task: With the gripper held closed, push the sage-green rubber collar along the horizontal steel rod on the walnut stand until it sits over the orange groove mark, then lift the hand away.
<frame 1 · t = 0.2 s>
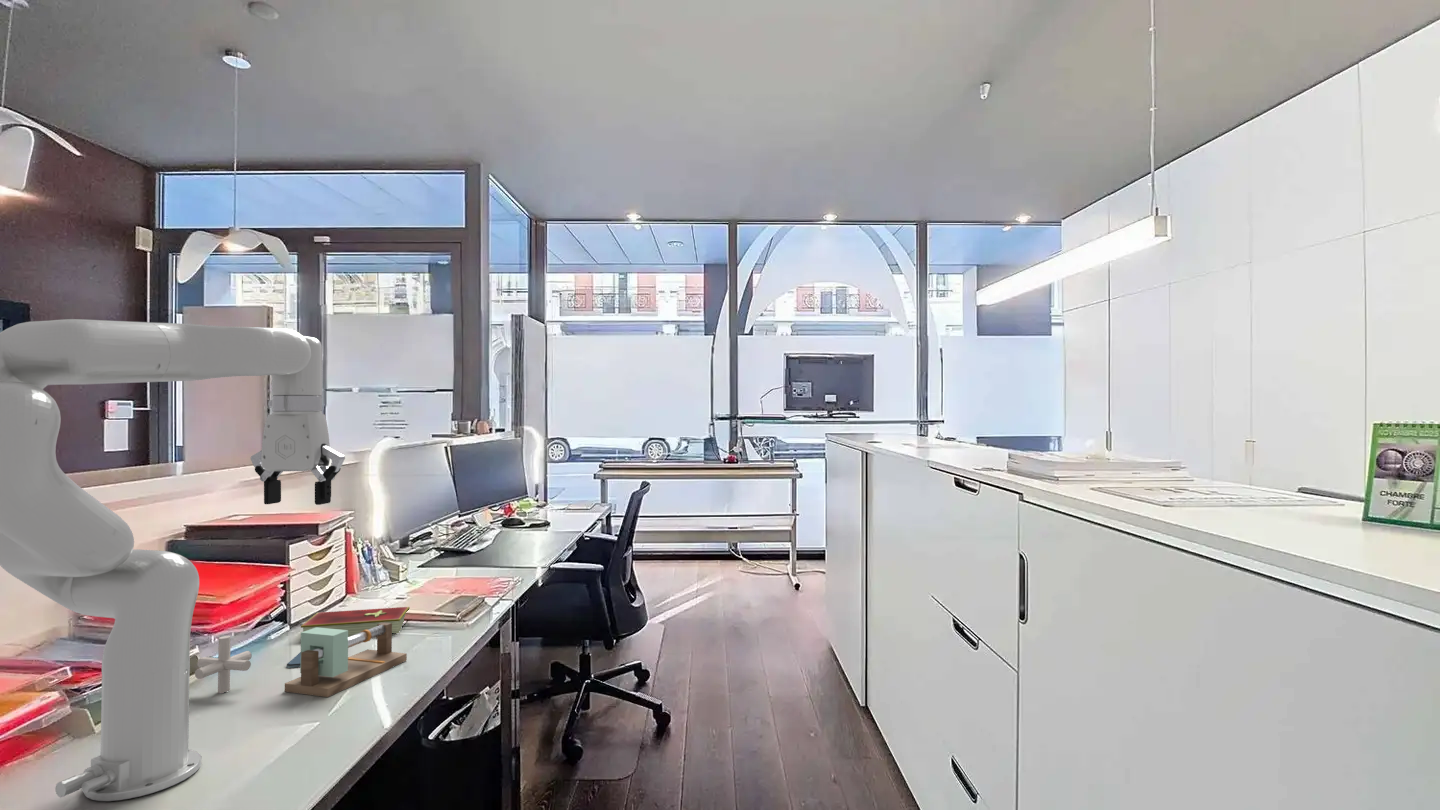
hand: (297, 503, 121), 36 cm above the table, tool pointing down, fingers open, 9 cm apart
hardcover book: (357, 632, 166), on the table
pipe connector: (223, 692, 128), on the table
smartphone: (318, 658, 148), on the table
rod stand: (349, 675, 136), on the table
collar: (324, 651, 130), point 6 cm above the table, slide at 0.0 cm
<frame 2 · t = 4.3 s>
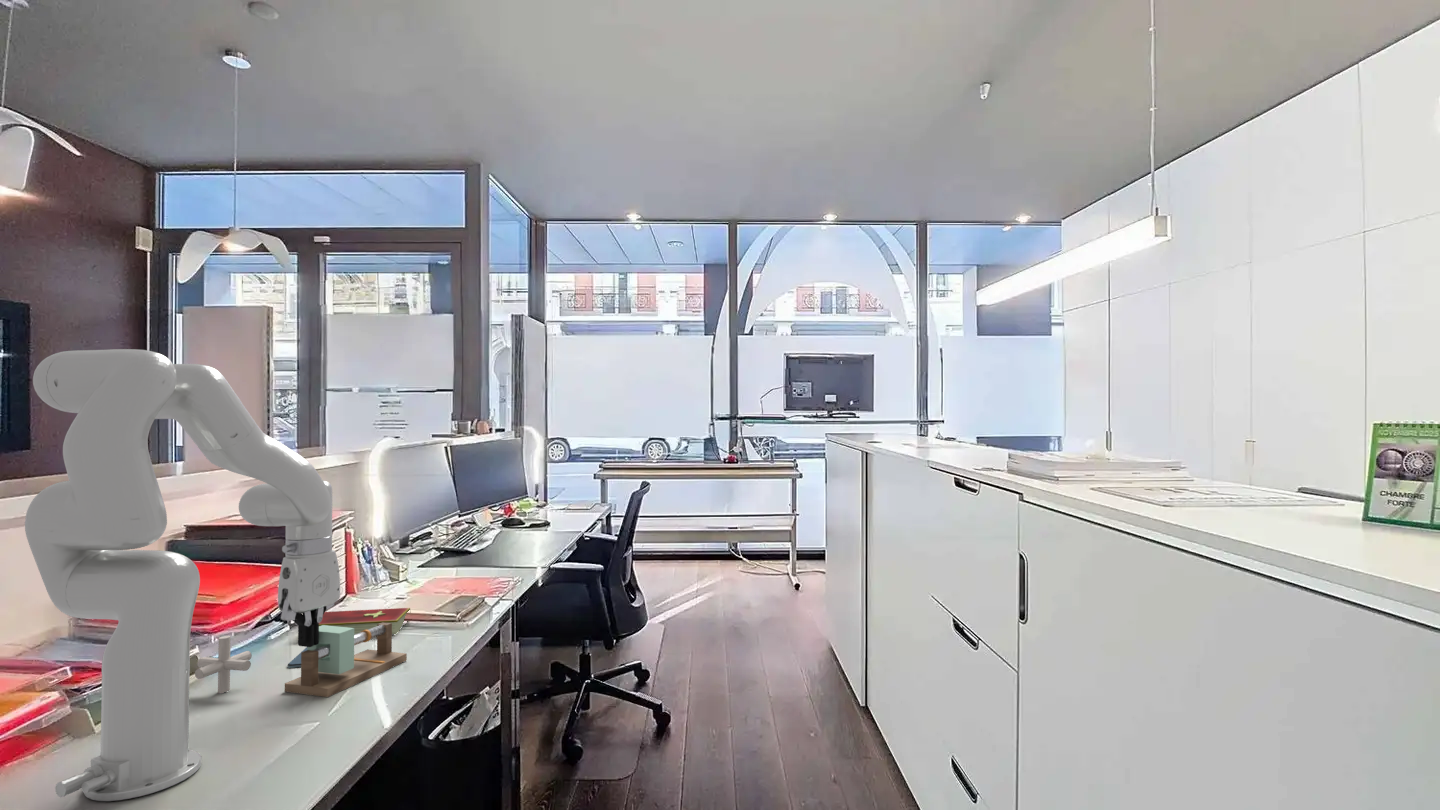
hand: (308, 645, 129), 8 cm above the table, tool pointing down, fingers closed
collar: (330, 649, 132), point 7 cm above the table, slide at 1.5 cm, touching gripper
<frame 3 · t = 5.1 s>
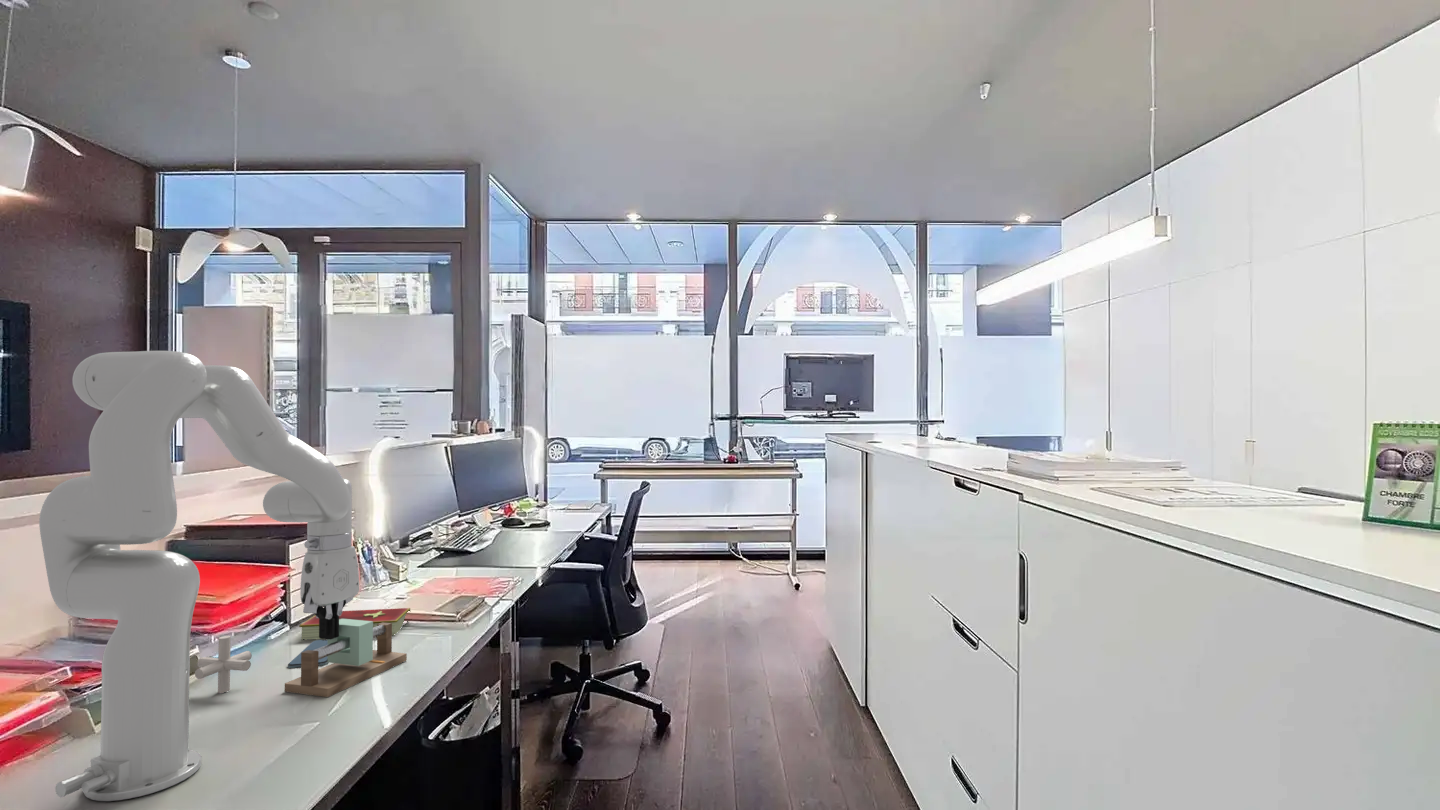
hand: (329, 637, 133), 8 cm above the table, tool pointing down, fingers closed
collar: (350, 641, 136), point 6 cm above the table, slide at 6.2 cm, touching gripper
everything else where it was.
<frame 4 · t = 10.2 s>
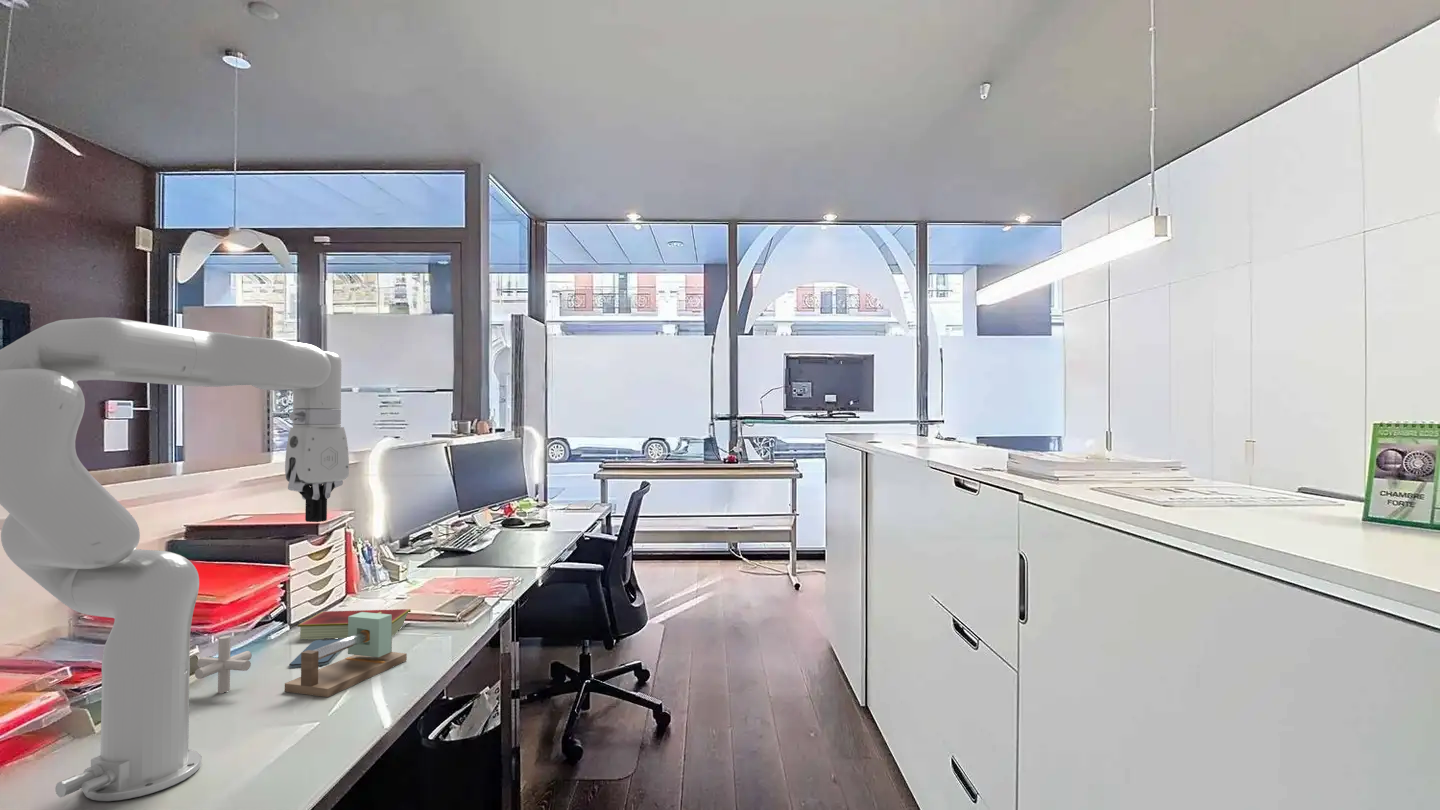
hand: (316, 521, 124), 32 cm above the table, tool pointing down, fingers closed
collar: (369, 634, 141), point 6 cm above the table, slide at 11.2 cm
at the end: collar slide at 11.2 cm; the gripper is holding nothing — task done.
